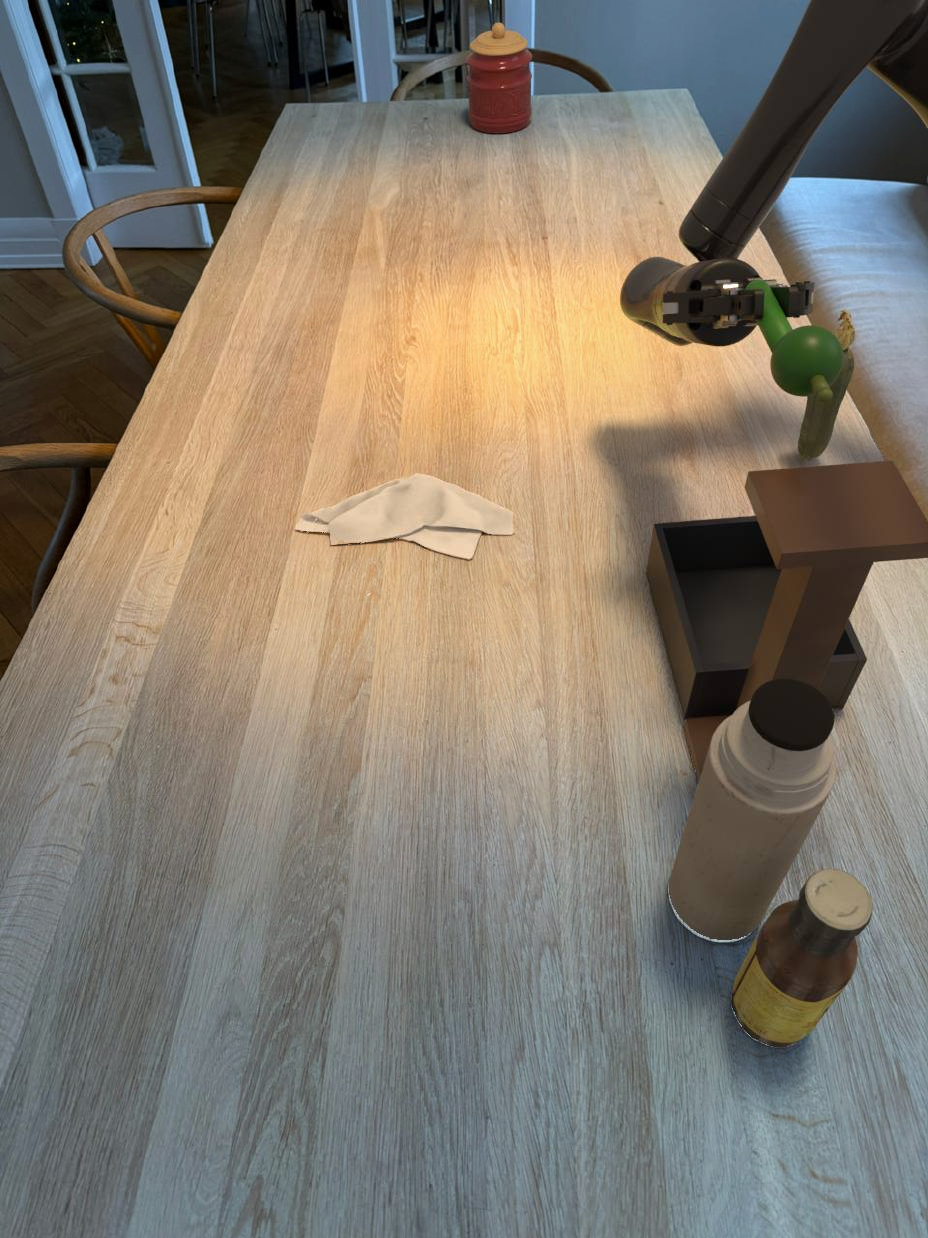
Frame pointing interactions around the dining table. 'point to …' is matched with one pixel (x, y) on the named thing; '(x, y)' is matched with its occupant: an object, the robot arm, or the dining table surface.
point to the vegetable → (824, 415)
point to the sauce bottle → (801, 959)
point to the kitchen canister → (499, 81)
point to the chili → (799, 351)
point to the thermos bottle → (753, 808)
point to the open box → (724, 612)
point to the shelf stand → (819, 565)
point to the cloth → (414, 516)
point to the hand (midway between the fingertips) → (776, 303)
